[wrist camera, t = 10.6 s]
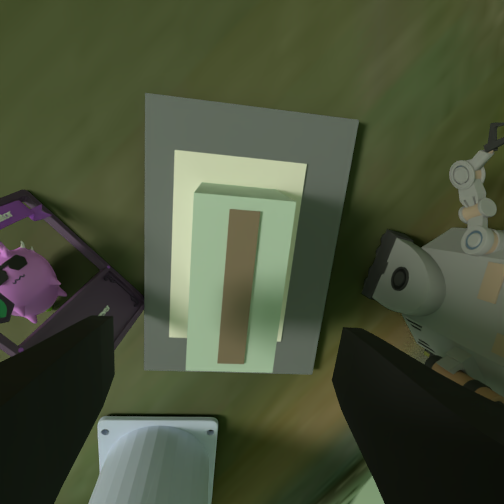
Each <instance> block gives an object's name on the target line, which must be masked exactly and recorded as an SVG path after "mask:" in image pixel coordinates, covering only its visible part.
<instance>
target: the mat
mask: <svg viewBox="0 0 504 504" xmlns="http://www.w3.org/2000/svg"><path fill="white" fill-rule="evenodd" d="M358 124H359V120H355V119H347V118H339V117H331V116H323V115H316V114H308V113H300V112H292V111H284V110H276V109H268V108H260V107H252V106H244V105H237V104H229V103H221V102H213V101H205V100H197V99H189V98H181V97H173V96H166V95H158V94H150V93H145V269H144V308H145V309H144V370H159V371H186V351H187V329H188V308H189V286H190V265H191V243H192V222H193V201H194V192H195V191H196V189H197V188H198V187H199V185H200V184H201V183H202V182H205V183H215V184H226V185H236V186H247V187H258V188H268V189H276V190H278V191H279V192H281V193H283V194H284V195H286V196H288V197H289V198H291V199H293V200H294V201H296V208H295V215H294V223H293V230H292V237H291V244H290V251H289V258H288V265H287V272H286V280H285V287H284V294H283V301H282V308H281V315H280V322H279V329H278V337H277V344H276V351H275V358H274V365H273V372H272V373H275V374H312V372H313V367H314V361H315V356H316V350H317V345H318V340H319V334H320V329H321V323H322V318H323V313H324V307H325V302H326V296H327V291H328V286H329V280H330V275H331V269H332V264H333V259H334V253H335V248H336V242H337V237H338V232H339V226H340V221H341V215H342V210H343V205H344V199H345V194H346V188H347V183H348V178H349V172H350V167H351V161H352V156H353V151H354V145H355V140H356V134H357V129H358ZM198 372H220V371H198ZM236 373H261V372H236Z"/></svg>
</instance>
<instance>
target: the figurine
mask: <svg viewBox="0 0 504 504" xmlns="http://www.w3.org/2000/svg"><path fill="white" fill-rule="evenodd" d="M503 125H504V123H491V124H490V131H489V139H488V144H486V145H484V149H485V150H479V152H478V153H477V154H476V155H475V156H474V157H473V159H472V160H467V161H464V160H461V161H457V162H455V163H454V164H453V165H452V166H451V168H450V172H449V177H450V181H451V183H452V184H453V186H454V187H456V188H457V189H458V190H459V199H460V202H461V203H462V204H463V205H464V206H463V207H461V208H460V209H459V217H460V219H461V220H462V221H463V222H464V223H466V224H468V228H451V229H450V230H448V231H446V232H445V233H443V234H442V235H440V236H439V237H437V238H435V239H434V240H432V241H431V242H429V243H428V244H426V245H424V246H423V247H422V248H420V247H419V246H417V245H415V244H414V243H413V241H414V240H412V239H411V238H410V237H408V236H407V235H406V234H403V233H399V232H396V231H392V230H388V229H387V230H386V233H385V234H383V235H382V237H381V245H380V246H379V247H378V248H377V250H376V258H375V260H374V263H373V265H372V266H370V268H369V271H368V274H369V275H368V278H366V279H365V280H364V288H363V290H362V293H361V294H363V295H365V296H366V297H368V298H369V299H373V300H376V301H378V302H379V303H380V304H381V305H383V306H384V307H386V308H388V309H390V310H393V311H395V312H399V313H402V316H403V318H404V319H405V321H406V323H407V325H408V327H409V329H410V331H411V333H412V335H413V337H414V339H415V341H416V343H417V344H419V345H420V346H422V347H423V348H425V351H424V355H426V356H428V357H429V358H428V359H427V360H426V362H425V365H426V366H428V367H429V368H431V369H433V370H434V371H436V372H438V373H440V374H442V375H443V376H445V377H447V378H449V379H451V380H453V381H454V382H456V383H458V384H460V385H462V386H464V387H466V388H468V389H470V390H472V391H474V392H476V393H478V394H480V395H482V396H484V397H486V398H488V399H490V400H492V401H494V402H497V403H499V404H501V405H503V406H504V230H494V229H489V228H488V218H487V217H492V216H494V215H495V214H496V211H497V208H496V205H495V203H494V202H493V201H492V200H491V199H489V198H486V191H485V189H484V186H483V182H484V180H485V169H484V167H483V166H484V165H485V163H486V162H487V161H488V160H489V159H490V158H491V156H492V155H493V154H494V153H493V151H497V150H498V147H499V146H501V145H503V144H504V137H503V138H501V139H498V140H497V127H498V126H503Z"/></svg>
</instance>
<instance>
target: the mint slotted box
mask: <svg viewBox="0 0 504 504" xmlns="http://www.w3.org/2000/svg"><path fill="white" fill-rule="evenodd" d="M295 208H296V201H294V200H293V199H291V198H289V197H288V196H286V195H284V194H283V193H281V192H279V191H278V190H276V189H268V188H258V187H247V186H236V185H226V184H215V183H205V182H202V183H201V184H200V185H199V187H198V188H197V189H196V191H195V192H194V201H193V222H192V243H191V265H190V286H189V308H188V329H187V351H186V371H220V372H261V373H272V372H273V365H274V358H275V351H276V344H277V337H278V329H279V322H280V315H281V308H282V301H283V294H284V287H285V280H286V272H287V265H288V258H289V251H290V244H291V237H292V230H293V223H294V215H295Z"/></svg>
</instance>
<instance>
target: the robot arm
mask: <svg viewBox="0 0 504 504" xmlns="http://www.w3.org/2000/svg"><path fill="white" fill-rule="evenodd" d="M114 374H115V372H114V324H113V316H97V315H92V316H89V317H87V318H85V319H83V320H81V321H79V322H77V323H75V324H73V325H71V326H69V327H67V328H66V329H64V330H62V331H60V332H58V333H56V334H55V335H53V336H51V337H49V338H47V339H45V340H43V341H41V342H40V343H38V344H36V345H34V346H32V347H30V348H28V349H26V350H24V351H22V352H20V353H18V354H16V355H14V356H12V357H10V358H8V359H6V360H4V361H2V362H0V504H54V502H55V500H56V498H57V496H58V494H59V491H60V489H61V487H62V485H63V483H64V481H65V480H66V478H67V476H68V474H69V472H70V470H71V468H72V466H73V464H74V462H75V460H76V458H77V456H78V454H79V452H80V450H81V449H82V447H83V445H84V443H85V441H86V439H87V437H88V435H89V433H90V431H91V429H92V427H93V425H94V423H95V421H96V419H97V417H98V415H99V413H100V411H101V409H102V407H103V405H104V402H105V400H106V397H107V394H108V392H109V389H110V386H111V383H112V380H113V377H114ZM332 382H333V385H334V389H335V392H336V395H337V398H338V401H339V404H340V407H341V410H342V412H343V415H344V417H345V419H346V421H347V423H348V425H349V428H350V430H351V432H352V434H353V436H354V438H355V440H356V442H357V445H358V447H359V449H360V451H361V453H362V455H363V457H364V459H365V461H366V463H367V466H368V468H369V470H370V472H371V474H372V476H373V478H374V480H375V482H376V485H377V487H378V489H379V492H380V494H381V496H382V498H383V501H384V503H385V504H504V406H503V405H501V404H499V403H497V402H494V401H492V400H490V399H488V398H486V397H484V396H482V395H480V394H478V393H476V392H474V391H472V390H470V389H468V388H466V387H464V386H462V385H460V384H458V383H456V382H454V381H453V380H451V379H449V378H447V377H445V376H443V375H442V374H440V373H438V372H436V371H434V370H433V369H431V368H429V367H428V366H426V365H424V364H422V363H421V362H419V361H417V360H416V359H414V358H412V357H411V356H409V355H407V354H406V353H404V352H402V351H401V350H399V349H397V348H396V347H394V346H392V345H391V344H389V343H387V342H386V341H384V340H382V339H381V338H379V337H377V336H375V335H374V334H372V333H370V332H368V331H366V330H364V329H361V328H345V327H343V330H342V335H341V340H340V345H339V349H338V354H337V359H336V364H335V368H334V373H333V378H332ZM105 429H107V430H105ZM209 430H212V431H209ZM217 434H218V420H217V419H216V418H214V417H147V416H104V417H102V418H101V419H100V420H99V422H98V446H99V466H100V475H99V478H98V480H97V483H96V485H95V488H94V491H93V493H92V496H91V498H90V501H89V504H211V502H212V490H213V479H214V468H215V457H216V445H217Z"/></svg>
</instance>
